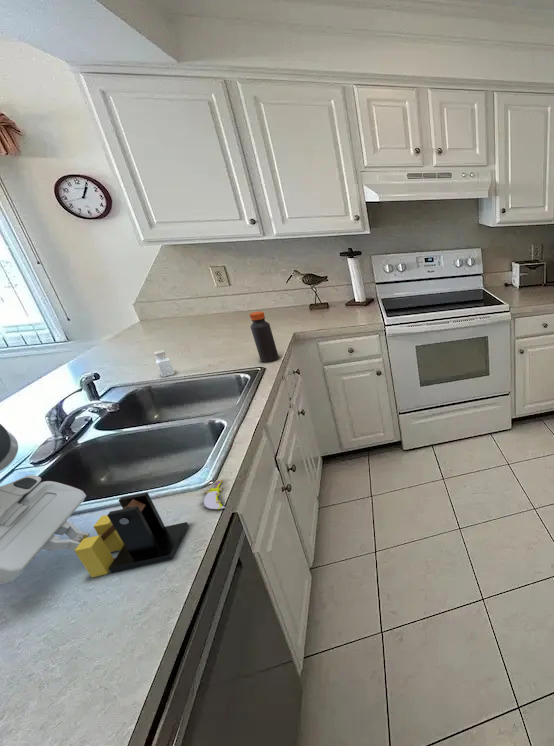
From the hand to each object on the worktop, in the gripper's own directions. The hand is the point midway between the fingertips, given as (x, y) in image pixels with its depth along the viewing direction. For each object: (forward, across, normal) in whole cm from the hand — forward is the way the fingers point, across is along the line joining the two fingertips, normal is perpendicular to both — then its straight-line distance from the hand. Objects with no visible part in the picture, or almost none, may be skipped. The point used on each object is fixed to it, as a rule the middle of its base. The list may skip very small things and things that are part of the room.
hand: (83, 542), depth 78 cm
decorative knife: (+16, +13, -9) cm, 22 cm away
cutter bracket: (+10, 0, -4) cm, 11 cm away
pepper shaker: (-12, +98, +19) cm, 101 cm away
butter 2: (+5, -3, +1) cm, 6 cm away
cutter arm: (+4, 0, -4) cm, 6 cm away
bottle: (+14, +101, -6) cm, 102 cm away
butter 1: (+5, +3, +1) cm, 6 cm away
